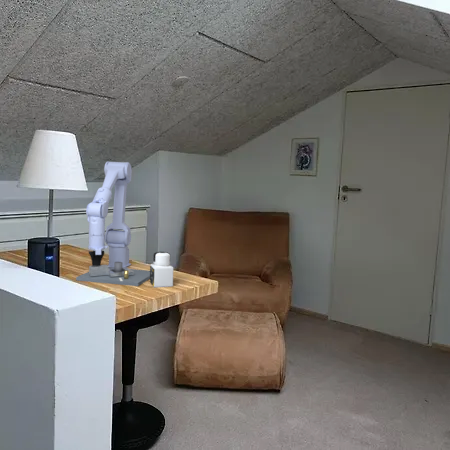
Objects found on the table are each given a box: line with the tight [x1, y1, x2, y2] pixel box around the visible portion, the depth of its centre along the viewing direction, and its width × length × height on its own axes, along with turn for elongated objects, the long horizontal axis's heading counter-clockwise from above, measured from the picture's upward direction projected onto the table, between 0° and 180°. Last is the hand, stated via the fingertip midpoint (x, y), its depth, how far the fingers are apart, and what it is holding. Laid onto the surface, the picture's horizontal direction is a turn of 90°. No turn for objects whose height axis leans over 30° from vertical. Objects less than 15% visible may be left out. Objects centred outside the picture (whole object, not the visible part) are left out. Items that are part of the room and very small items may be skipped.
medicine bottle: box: [149, 251, 174, 288], centre depth 164 cm, size 7×7×12 cm
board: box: [75, 262, 150, 287], centre depth 172 cm, size 20×24×6 cm
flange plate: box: [88, 264, 134, 277], centre depth 171 cm, size 15×9×4 cm, turn 122°
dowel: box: [124, 270, 129, 279], centre depth 166 cm, size 2×2×3 cm
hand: (96, 270), depth 170 cm, fingers closed, pressing on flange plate
